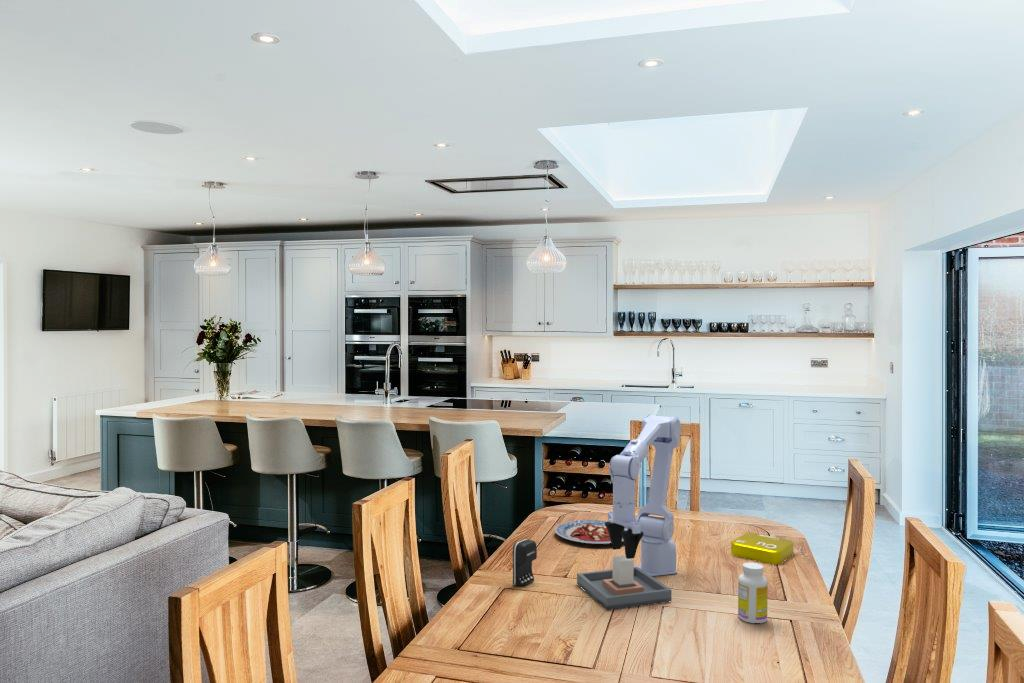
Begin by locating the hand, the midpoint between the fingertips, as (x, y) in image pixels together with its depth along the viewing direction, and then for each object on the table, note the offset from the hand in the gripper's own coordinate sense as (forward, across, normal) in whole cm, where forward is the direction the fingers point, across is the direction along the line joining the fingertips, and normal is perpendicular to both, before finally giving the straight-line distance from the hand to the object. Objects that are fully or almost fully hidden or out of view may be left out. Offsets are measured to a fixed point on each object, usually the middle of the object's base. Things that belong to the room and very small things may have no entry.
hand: (623, 553), depth 186 cm
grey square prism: (+9, 0, 0) cm, 9 cm away
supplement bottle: (+11, +24, +22) cm, 34 cm away
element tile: (+11, -16, +56) cm, 59 cm away
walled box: (+10, 0, 0) cm, 10 cm away
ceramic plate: (+11, -47, +14) cm, 50 cm away
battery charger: (+11, -14, -22) cm, 28 cm away
